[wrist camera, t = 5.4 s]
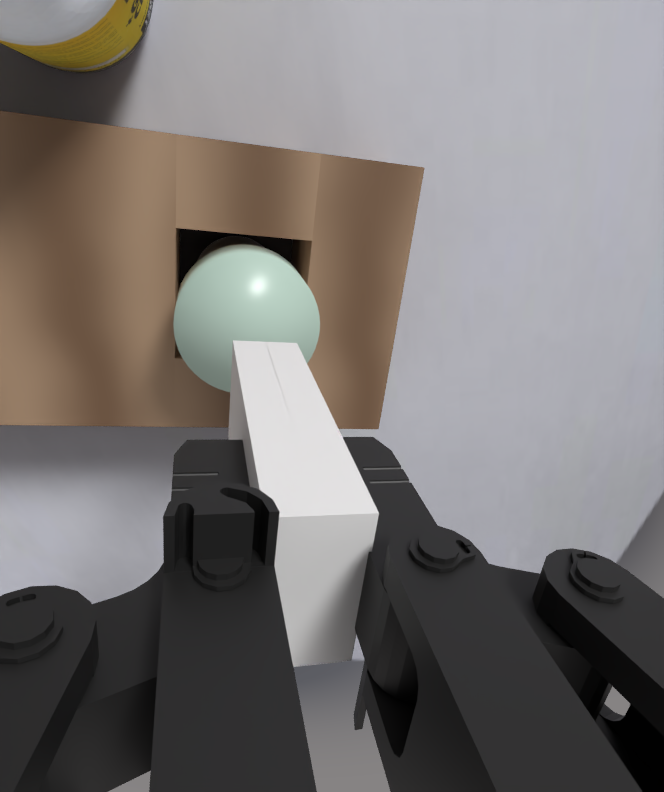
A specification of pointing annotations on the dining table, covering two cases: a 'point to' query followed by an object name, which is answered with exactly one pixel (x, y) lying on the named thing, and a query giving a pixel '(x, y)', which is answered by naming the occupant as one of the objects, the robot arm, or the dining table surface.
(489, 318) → the dining table surface
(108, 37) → the pill bottle
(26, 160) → the mount
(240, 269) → the knob
